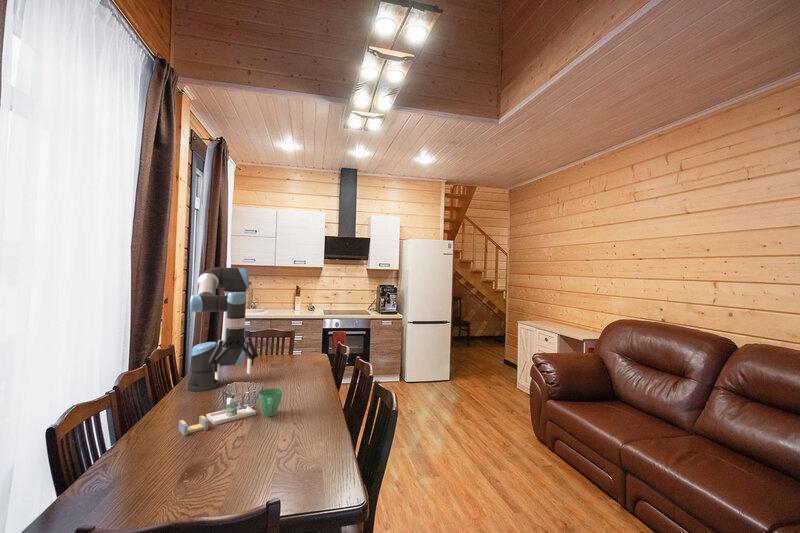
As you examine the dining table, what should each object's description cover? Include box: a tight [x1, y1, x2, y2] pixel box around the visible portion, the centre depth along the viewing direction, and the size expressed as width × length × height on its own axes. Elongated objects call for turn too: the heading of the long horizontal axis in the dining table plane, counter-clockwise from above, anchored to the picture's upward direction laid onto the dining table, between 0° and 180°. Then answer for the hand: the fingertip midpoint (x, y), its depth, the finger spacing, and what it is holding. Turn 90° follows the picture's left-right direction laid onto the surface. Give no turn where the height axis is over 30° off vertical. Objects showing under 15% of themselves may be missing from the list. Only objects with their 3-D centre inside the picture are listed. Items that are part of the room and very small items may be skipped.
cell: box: [225, 395, 239, 417], centre depth 156 cm, size 4×4×8 cm
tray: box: [205, 405, 257, 426], centre depth 155 cm, size 10×17×2 cm, turn 136°
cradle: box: [178, 415, 209, 437], centre depth 141 cm, size 7×8×4 cm
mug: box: [258, 387, 283, 418], centre depth 157 cm, size 15×10×10 cm
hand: (233, 376), depth 157 cm, fingers open, 13 cm apart
